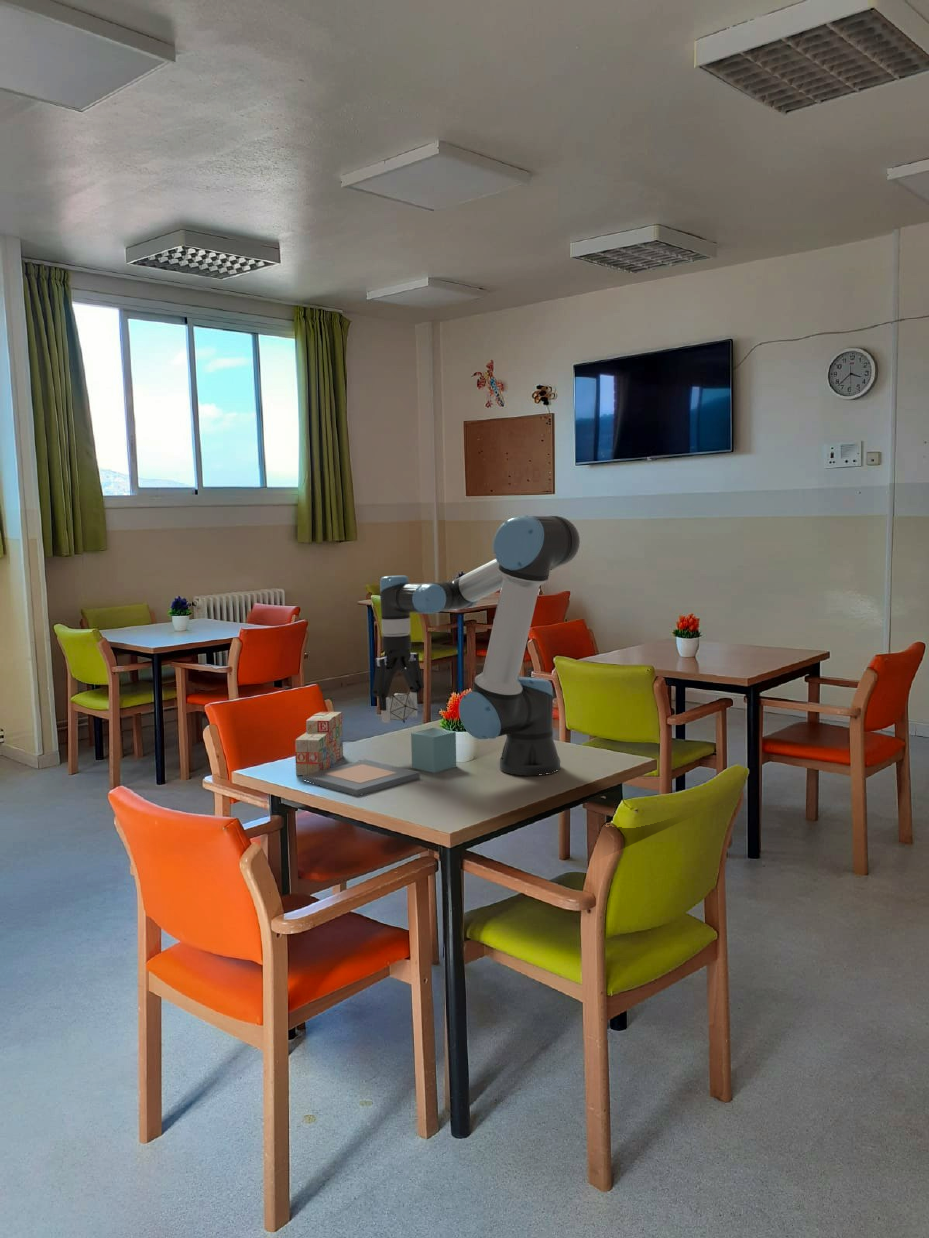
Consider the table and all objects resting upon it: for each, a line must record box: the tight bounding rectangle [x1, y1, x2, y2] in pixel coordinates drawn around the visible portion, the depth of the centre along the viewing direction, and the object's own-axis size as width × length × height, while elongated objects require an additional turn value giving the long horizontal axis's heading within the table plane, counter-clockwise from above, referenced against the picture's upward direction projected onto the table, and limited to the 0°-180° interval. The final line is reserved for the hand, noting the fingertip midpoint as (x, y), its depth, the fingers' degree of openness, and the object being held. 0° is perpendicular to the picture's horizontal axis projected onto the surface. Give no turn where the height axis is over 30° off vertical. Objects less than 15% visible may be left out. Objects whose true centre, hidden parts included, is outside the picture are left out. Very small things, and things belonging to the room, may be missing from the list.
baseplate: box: [302, 759, 421, 797], centre depth 233 cm, size 20×20×2 cm
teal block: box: [410, 727, 457, 774], centre depth 244 cm, size 8×8×9 cm
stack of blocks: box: [294, 711, 344, 776], centre depth 248 cm, size 21×6×12 cm, turn 171°
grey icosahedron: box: [389, 690, 419, 724], centre depth 253 cm, size 9×8×10 cm
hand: (399, 719), depth 253 cm, fingers closed on grey icosahedron, 9 cm apart
